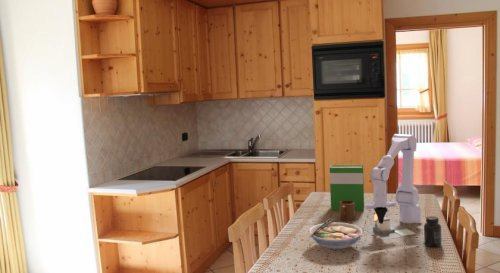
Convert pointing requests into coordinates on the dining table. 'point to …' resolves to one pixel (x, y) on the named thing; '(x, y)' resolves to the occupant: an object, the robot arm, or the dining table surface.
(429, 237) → the supplement bottle
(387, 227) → the plug
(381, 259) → the dining table surface
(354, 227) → the ramen bowl
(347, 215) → the mug
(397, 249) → the dining table surface
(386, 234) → the socket board
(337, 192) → the green cereal box
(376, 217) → the orange flat bar
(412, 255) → the dining table surface
